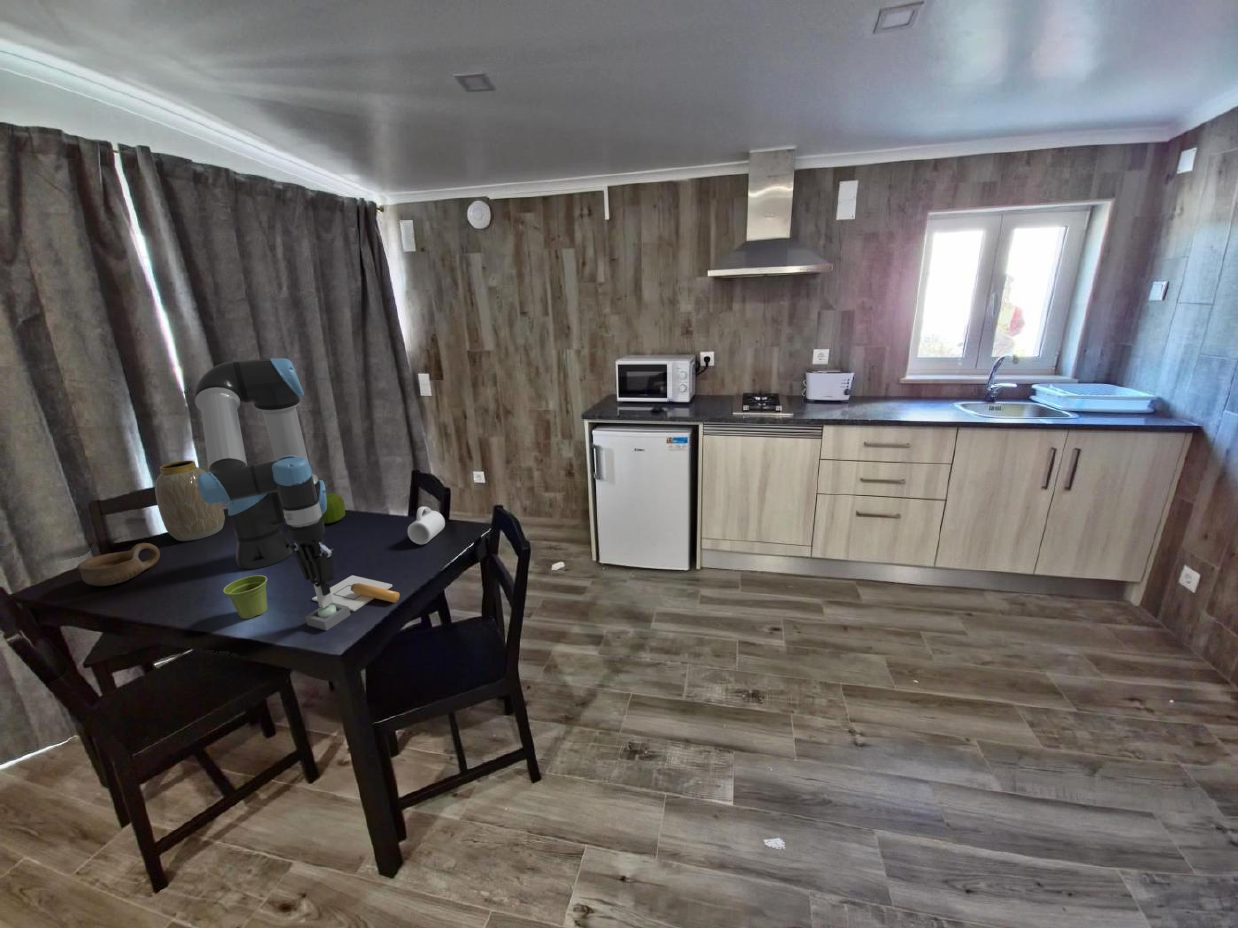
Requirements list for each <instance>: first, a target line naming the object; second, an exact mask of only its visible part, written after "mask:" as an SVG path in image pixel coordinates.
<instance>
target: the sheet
mask: <svg viewBox="0 0 1238 928" xmlns="http://www.w3.org/2000/svg"><path fill="white" fill-rule="evenodd" d="M357 583H360V584H365V585H369V586H373V587H378V588H382V589H386V590H390V588H392V587H393V584H392V583H387V582H383V581H379V580H375V579H370V578H366V577H362V576H357V575H353V574H352V575H350V576H349V577H348V576H347V578H345V579H343V580H341V581H340V582H338V583H336V584H335V585H333V586H330V591H331V592H330V593H331V597H332V601H333V603H337V604H340V605H344V606H348V607H349V610H350V612H356V611H357V610H359V609H360V608H361V607H363V606H365V605H366V604H368V603H369V602H371V601H372V600H374V599H375V598H373V597H369V596H364V595H360V594H356V593H354V592H353V591H351V586H352V585H353V584H357ZM311 599H312V601H314V602H317V603H318V600H317V596H314V597H312V598H311Z"/></svg>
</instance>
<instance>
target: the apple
mask: <svg viewBox="0 0 1238 928" xmlns="http://www.w3.org/2000/svg"><path fill="white" fill-rule="evenodd" d="M326 499H327V509H326V512H325V513H324V514H322V517H321V518H322V519H323V522H324V525H325V524H326V525H327V524H332V523H337V522H338V521H341V520H342V519H343V518H344V517H345V516H346V510H345V500H344V498H343V497H342V496H341V495H339V494H337V493H326Z"/></svg>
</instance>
